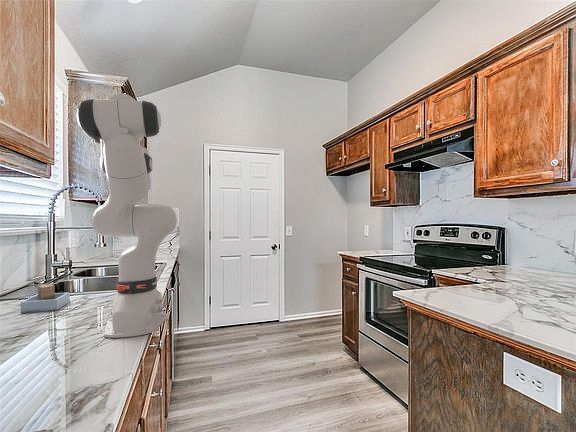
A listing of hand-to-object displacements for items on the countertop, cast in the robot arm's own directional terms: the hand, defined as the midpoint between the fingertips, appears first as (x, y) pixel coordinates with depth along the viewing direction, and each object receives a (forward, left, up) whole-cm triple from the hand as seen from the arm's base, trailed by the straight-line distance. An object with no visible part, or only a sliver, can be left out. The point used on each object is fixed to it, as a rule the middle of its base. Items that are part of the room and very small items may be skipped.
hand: (140, 217), depth 142 cm
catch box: (-8, +33, -34) cm, 48 cm away
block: (-8, +33, -33) cm, 48 cm away
